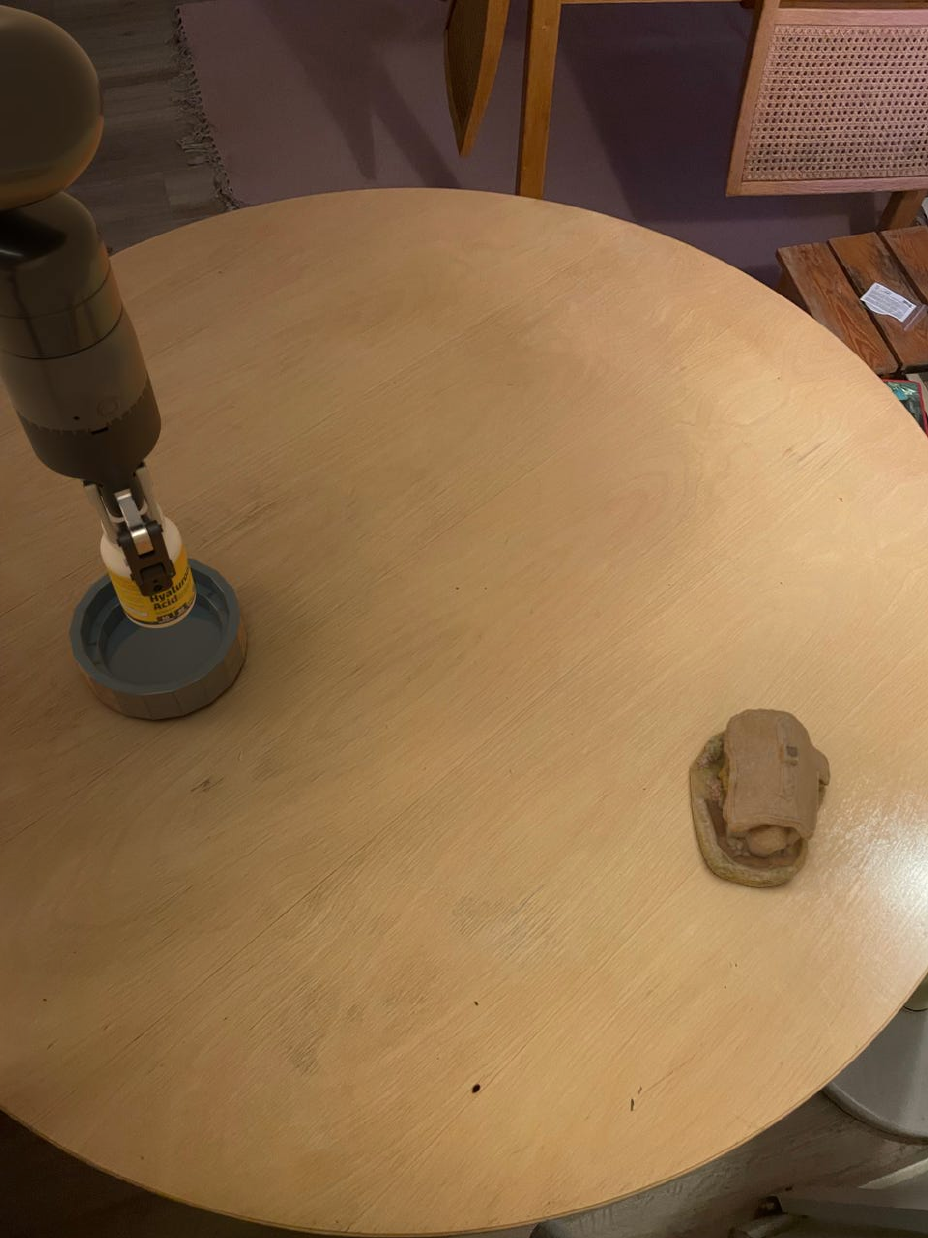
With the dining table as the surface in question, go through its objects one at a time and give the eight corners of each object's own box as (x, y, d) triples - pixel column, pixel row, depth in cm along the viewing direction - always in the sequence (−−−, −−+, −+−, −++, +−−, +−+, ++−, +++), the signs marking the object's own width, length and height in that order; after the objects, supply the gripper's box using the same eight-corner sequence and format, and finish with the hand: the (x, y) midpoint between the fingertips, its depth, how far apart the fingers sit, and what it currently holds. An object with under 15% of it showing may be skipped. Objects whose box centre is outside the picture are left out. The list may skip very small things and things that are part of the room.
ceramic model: (691, 719, 89) (720, 659, 81) (822, 742, 88) (865, 683, 80) (682, 876, 81) (713, 828, 73) (825, 902, 81) (873, 856, 72)
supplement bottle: (164, 643, 75) (133, 562, 66) (107, 608, 76) (70, 525, 68) (213, 591, 77) (189, 507, 69) (157, 559, 79) (127, 473, 70)
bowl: (101, 744, 86) (85, 716, 81) (74, 611, 93) (58, 578, 88) (264, 696, 89) (257, 667, 84) (226, 571, 96) (218, 537, 91)
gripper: (-21, 316, 60) (62, 502, 74) (43, 488, 53) (121, 657, 68) (106, 281, 62) (163, 468, 77) (184, 443, 56) (231, 615, 70)
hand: (143, 556), depth 72 cm, fingers closed on supplement bottle, 5 cm apart
